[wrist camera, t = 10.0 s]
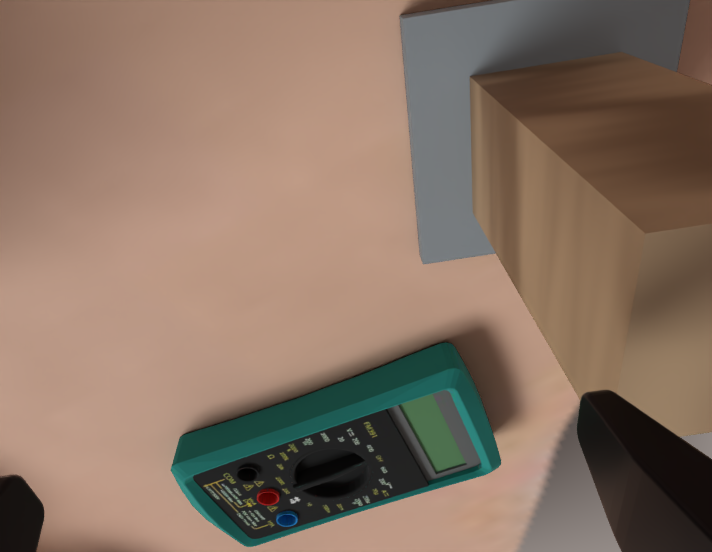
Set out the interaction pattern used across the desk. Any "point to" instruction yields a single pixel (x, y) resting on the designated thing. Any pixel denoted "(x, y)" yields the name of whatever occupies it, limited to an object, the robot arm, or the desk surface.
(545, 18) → the grey pad
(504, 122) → the walnut block
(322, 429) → the digital multimeter
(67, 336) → the desk surface
